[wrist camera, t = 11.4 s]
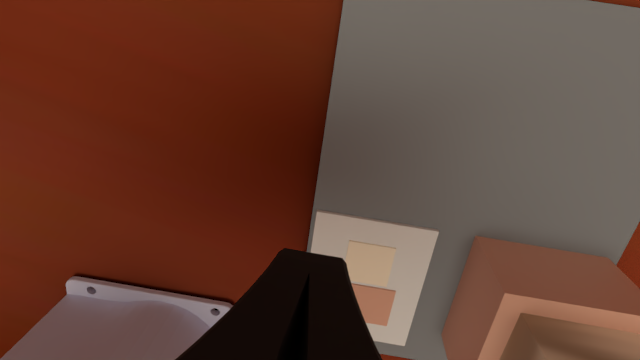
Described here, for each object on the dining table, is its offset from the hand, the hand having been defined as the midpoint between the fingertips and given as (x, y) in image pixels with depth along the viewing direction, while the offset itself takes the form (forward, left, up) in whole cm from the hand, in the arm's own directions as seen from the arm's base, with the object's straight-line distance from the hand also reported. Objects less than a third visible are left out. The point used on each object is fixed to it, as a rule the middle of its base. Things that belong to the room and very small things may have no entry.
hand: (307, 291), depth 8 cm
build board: (+6, -2, -10) cm, 12 cm away
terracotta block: (+10, -6, -9) cm, 15 cm away
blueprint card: (+2, -6, -9) cm, 12 cm away
